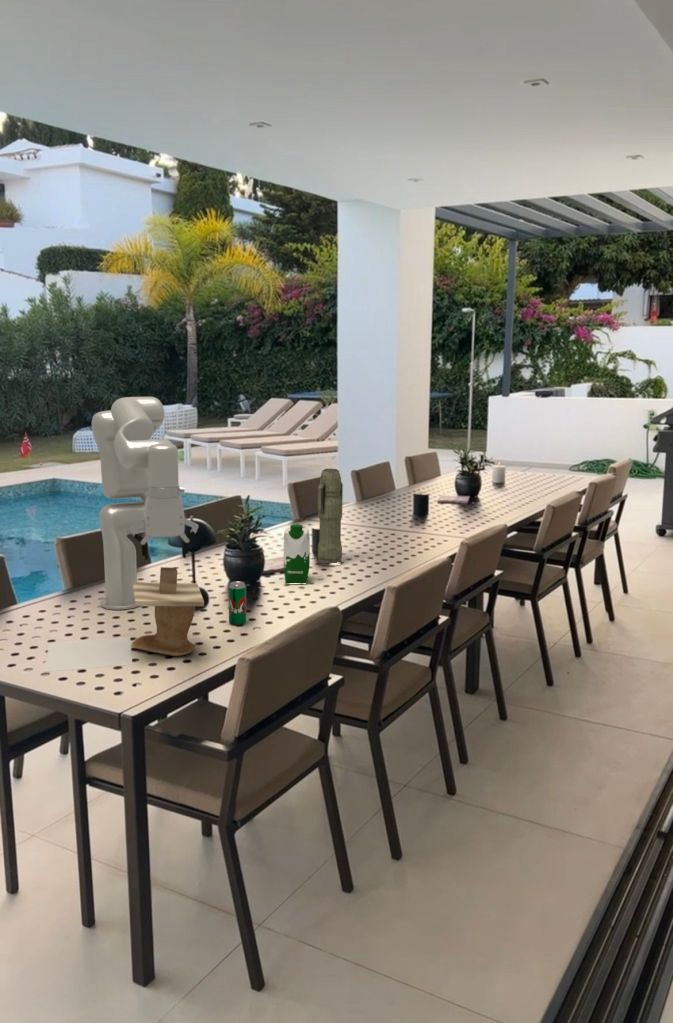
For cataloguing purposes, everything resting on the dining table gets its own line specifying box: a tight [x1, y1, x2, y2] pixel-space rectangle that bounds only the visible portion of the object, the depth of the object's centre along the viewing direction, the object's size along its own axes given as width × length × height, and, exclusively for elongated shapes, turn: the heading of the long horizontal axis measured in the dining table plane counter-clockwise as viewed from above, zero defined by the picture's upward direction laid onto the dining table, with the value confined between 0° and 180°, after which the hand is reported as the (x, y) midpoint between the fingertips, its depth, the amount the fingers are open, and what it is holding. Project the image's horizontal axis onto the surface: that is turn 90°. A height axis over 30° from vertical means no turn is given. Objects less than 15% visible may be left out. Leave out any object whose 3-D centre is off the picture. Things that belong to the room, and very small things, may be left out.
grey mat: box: [43, 636, 133, 673], centre depth 221 cm, size 21×21×1 cm
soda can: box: [227, 580, 247, 626], centre depth 247 cm, size 5×5×12 cm
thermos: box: [317, 468, 344, 563], centre depth 312 cm, size 9×12×35 cm
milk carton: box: [283, 523, 311, 584], centre depth 290 cm, size 9×9×20 cm
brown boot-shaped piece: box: [131, 606, 196, 657], centre depth 224 cm, size 15×12×15 cm
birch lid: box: [133, 566, 205, 607], centre depth 222 cm, size 17×17×7 cm
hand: (165, 557), depth 221 cm, fingers open, 9 cm apart
